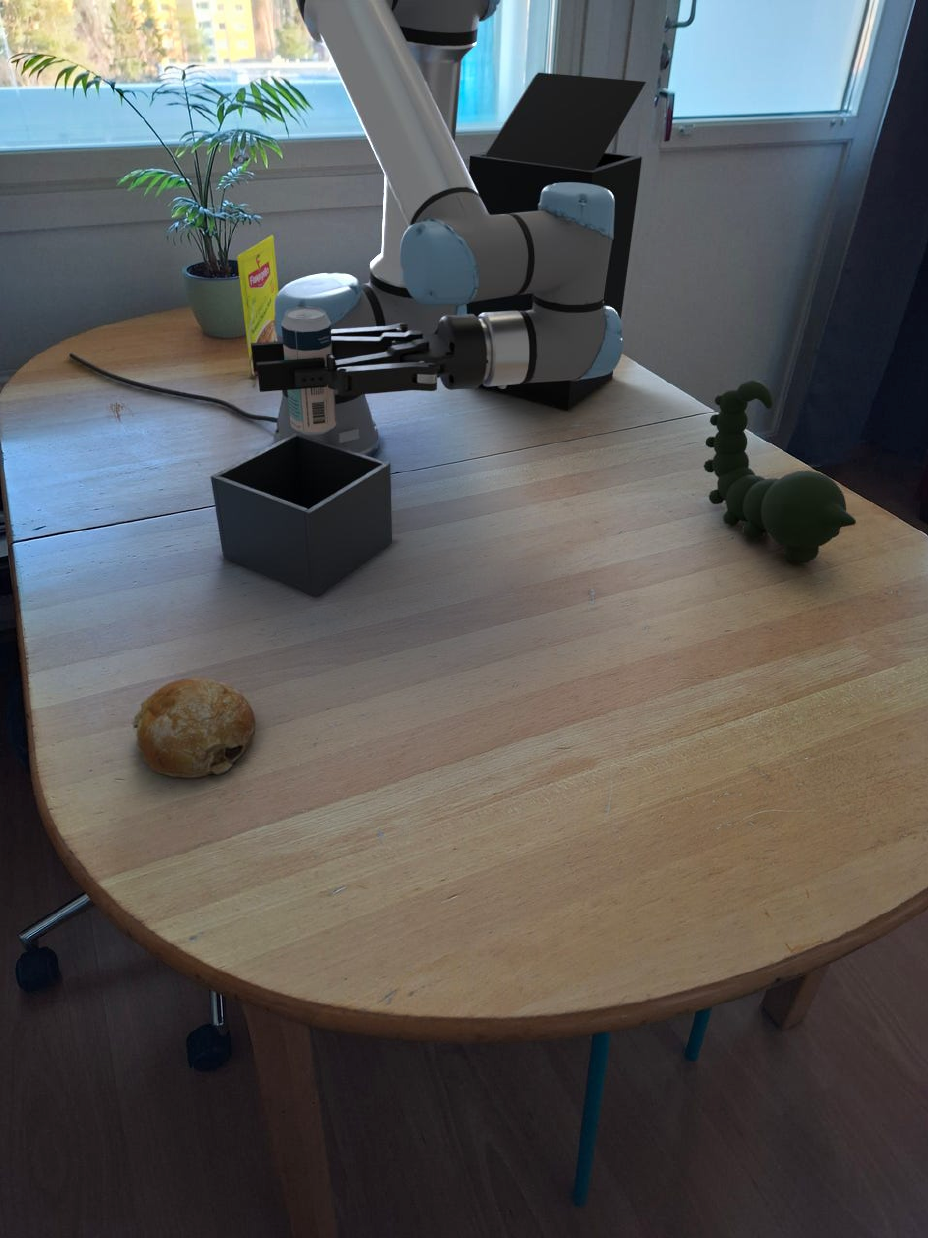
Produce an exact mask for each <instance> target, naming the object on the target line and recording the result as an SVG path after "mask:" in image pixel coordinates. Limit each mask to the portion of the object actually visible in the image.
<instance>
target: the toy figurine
mask: <svg viewBox="0 0 928 1238" xmlns="http://www.w3.org/2000/svg"><path fill="white" fill-rule="evenodd" d="M754 400H758V401H760V402H761V403H762V405H763V406H764V407H765V409H768V410H770V409H771V408H772V407H773V398H772V393H771V391H770V390H769V388H768V386H767V385H766V384H765V383H763V382H761V381H758V380H755V379H753V380H746V381H744V382H742V383H740V385H739V386H738V387H737V388H732V389H729V390H726V391H725V392H724V393H723V394H722V395H717V396H715V398H714V403H715V405H716V406H719V409H720V411H719V412H718V414H717V413H716V414H712V415H711V416H710V418H709V423H710V425H712V426H714V427H715V426H716V429H717V431H718V432H716V434H715V436H708V437H707V438H706V439H705V441H704V442H705V446H706V447H708V448H711V449H713V450H714V452H715V454H714V455H713V458H712V459H711V458H710V459H707V460H706V461H704V463H703V469H704V471H705V472H708V473H711V474H712V473H714V475H715V476H716V477H717V478H718V479H717V489H713V490H711V491H710V492H709V494H708V500H709V502H710V503H711V504H713V505H722V504H723V503H724V502H725V507H726V509H727V510H726V511H725V513H724V514H723V516H722V518H723V522H724V524H725V525H727V526H728V527H729V526H730V527H734V526H736V525H738V523H739V522H742V523H744V524H743V526H742V533H743V535H744V537H745V538H747V539H748V540H750V541H751V540H756V539H760V538H762V537H763V536H764V533H765V534H768V535H769V536H770V537H771V538H772V540H774V541H775V542H777V543H778V544H779V545H780V546H782V547H785V548H784V550H783V553H784V557H785V560H786V561H787V562H788V563H790V564H793V565H804V564H807V563H810V562H812V561H814V560H815V559H816V558H817V557H818V555H819V553H820V550H819V549H820V547H822V546H824V545H826V544H827V543H830V541H832V540H833V539H834V538H836V537H838V536H839V535H840V532H841V529H842V528H845V527H850V526H854V525H856V524H857V520H856V518H854V517H853V516H852V515H851V514H850V513H848V512H847V503H846V498H845V495H844V493H843V490H842V489H841V488H840V486H839V485H838V484H837V482H836V481H835V480H833V479H832V478H831V477H829V476H828V475H826V474H824V473H823V472H822V473H821V472H818V471H813V470H796V471H793V472H790V473H787V474H785V475H783V476H781V477H780V478H774V477H770V478H765V477H763V476H760V475H758V474H756V472H754V470H752V469H751V468H750V458H749V455H748V454H747V452H746V449H747V446H748V437H747V435H746V433H745V430H746V429H747V426H748V423H749V417H748V414H747V413H746V410H747V408H748V404H749V402H752V401H754Z"/></svg>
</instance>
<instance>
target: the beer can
mask: <svg viewBox="0 0 928 1238" xmlns="http://www.w3.org/2000/svg"><path fill="white" fill-rule="evenodd" d="M281 325H282V336H283V347H284V358H285V360H295V359H310V358H324V359H325V367H327V362H326V355H327V354H330V355H332V339H331V322H330V320H329V318H328V316H327V314H326V312H325V311H324V310H322V309H320V308H314V307H296V308H293V309H289V310H287V311H286V313H285V316H284V319H283V321H282V323H281ZM326 386H327V387H317V388H305V389H292V390H287V391H288V402H289V413H290V424H291V427H292V428H294V429H295V430H297V431H299V432H300V433H303V434H307V435H319V434H323V433H326V432H328V431H329V430H331V429H332V428H334V427H335V425H336V409H335V392H334V389H330V388H328V385H326Z"/></svg>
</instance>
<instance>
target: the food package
mask: <svg viewBox="0 0 928 1238" xmlns="http://www.w3.org/2000/svg"><path fill="white" fill-rule="evenodd" d="M275 251H276V250H275V238H274V234H271V235H270V236H268V237H266V238H265V239H263V240H261V241H260V242H258V243H257V244H254V245H253V246H251V247H250V248H248V249H246V250H245V251H243V252H241V253H240V254H238V255H237V256H236V262H237V272H238V279H239V280H238V281H239V288H240V296H241V297H240V298H241V304H242V305H241V306H242V313H243V320H244V328H245V337H246V345H247V354H248V361H249V362H248V363H249V371H250V376H251V377H250V378H251V379H253V378H255V377H256V376H258V373H257V372H254V368H253V359H252V350H251V343H260V342H275V341H277V334H276V332H275V328H274V323H275V299H276V296H277V294H278V293H279V291H280V290H279V283H278V282H279V281H278V272H277V262H276V260H277V259H276V252H275Z"/></svg>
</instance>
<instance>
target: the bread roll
mask: <svg viewBox="0 0 928 1238" xmlns="http://www.w3.org/2000/svg"><path fill="white" fill-rule="evenodd" d="M140 706H141V707H140V711H138V712H137V713H136V714H135V715H134V719H133V721H132V726H133V729H134V730H135V729H137V730H136V734H135V735H136V738H137V739H136V746H137V747H138V749H139V751H140V754H141V756H142V757H143V762H145V763H146V764H147V765H148V766H149V767H150V768H151V769H152V770H153V771H155V772H157V773H158V774H164V775H166V776H169V777H172V778H173V777H174V778H175V777H178V778H179V777H180V778H191V779H192V778H193V779H194V778H201V777H205V776H209V775H211V774H214V775H217V776H219V775H221V774H223V773H226V772H228V770H229V769H230V768H231V767H233V763H234V762H236V760H238V758H240V756H241V755H242V754H243V753H244V752H245V750H246V748H248V746H250V744H251V742H252V741H253V739H254V737H255V735H256V734H255V733H256V718H255V714H254V711H253V709H252V706H251V705H250V703H249V701H248V700H247V698H246V697H245V696H244V695H243V694H242V693H241V692H240V691H239V690H238V689H236V688H235V687H233V686H231V685H229V684H228V683H226V682H222V681H220V680H216V679H212V678H204V677H189V678H182V679H179V680H174V681H172V682H169V683H167V684H165V685H163V686H162V687H160V688H158V689H157V690H155V691H154V692H153V693H152V694H151V695H150V696H149V697H148V698H146V699H145V700H143V701H142V702H141V703H140Z"/></svg>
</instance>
